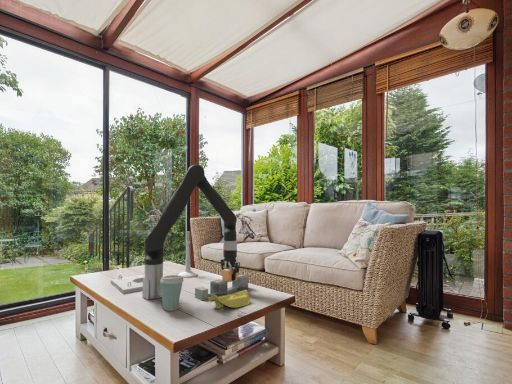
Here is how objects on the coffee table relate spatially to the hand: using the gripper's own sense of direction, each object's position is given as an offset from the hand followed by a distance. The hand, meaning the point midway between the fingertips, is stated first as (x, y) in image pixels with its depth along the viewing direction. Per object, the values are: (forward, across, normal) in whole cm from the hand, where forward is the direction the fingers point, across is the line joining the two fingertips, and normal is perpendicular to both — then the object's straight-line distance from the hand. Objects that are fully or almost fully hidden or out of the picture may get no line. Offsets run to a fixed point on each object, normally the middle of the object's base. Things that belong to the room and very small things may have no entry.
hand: (230, 279), depth 164 cm
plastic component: (+7, +15, -15) cm, 23 cm away
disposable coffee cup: (+7, -1, -36) cm, 37 cm away
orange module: (0, 0, 0) cm, 0 cm away
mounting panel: (+7, -50, -25) cm, 56 cm away
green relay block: (+7, -3, -18) cm, 19 cm away
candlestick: (+7, -47, +5) cm, 48 cm away
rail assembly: (+7, 0, -1) cm, 7 cm away
